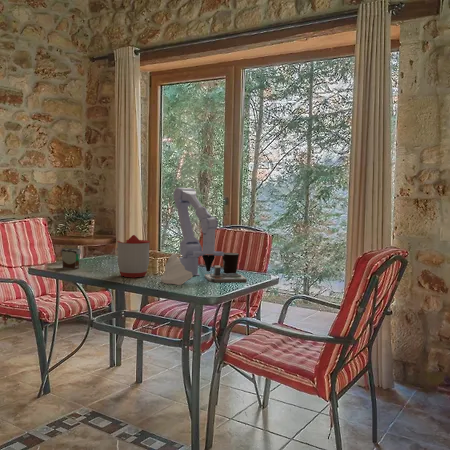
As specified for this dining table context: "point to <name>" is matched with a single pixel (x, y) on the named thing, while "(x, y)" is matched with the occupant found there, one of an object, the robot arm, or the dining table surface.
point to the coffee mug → (230, 262)
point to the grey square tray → (228, 280)
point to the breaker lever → (217, 270)
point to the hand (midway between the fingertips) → (208, 271)
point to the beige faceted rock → (175, 272)
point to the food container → (70, 257)
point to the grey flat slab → (225, 276)
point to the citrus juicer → (133, 257)
